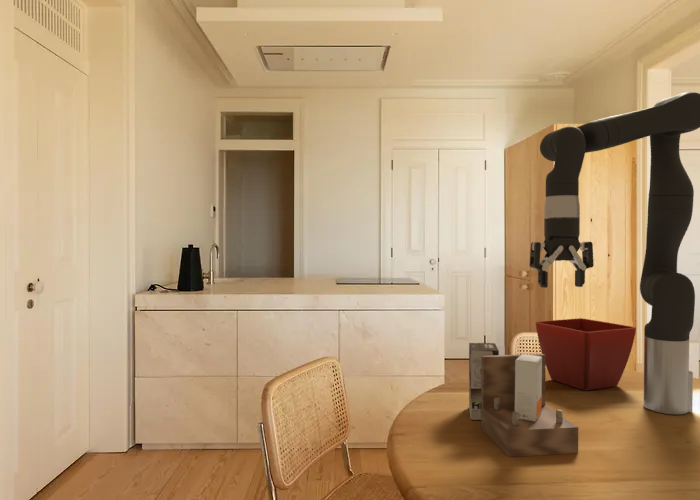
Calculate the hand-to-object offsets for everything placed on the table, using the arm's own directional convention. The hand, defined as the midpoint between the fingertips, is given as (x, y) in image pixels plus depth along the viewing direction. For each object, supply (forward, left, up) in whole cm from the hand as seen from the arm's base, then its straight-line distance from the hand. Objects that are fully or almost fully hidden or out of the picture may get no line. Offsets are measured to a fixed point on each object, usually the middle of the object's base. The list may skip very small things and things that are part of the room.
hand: (561, 287), depth 117 cm
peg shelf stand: (+14, +12, -30) cm, 35 cm away
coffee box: (+17, -4, -30) cm, 35 cm away
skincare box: (+14, +12, -25) cm, 31 cm away
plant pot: (-21, -25, -30) cm, 45 cm away
